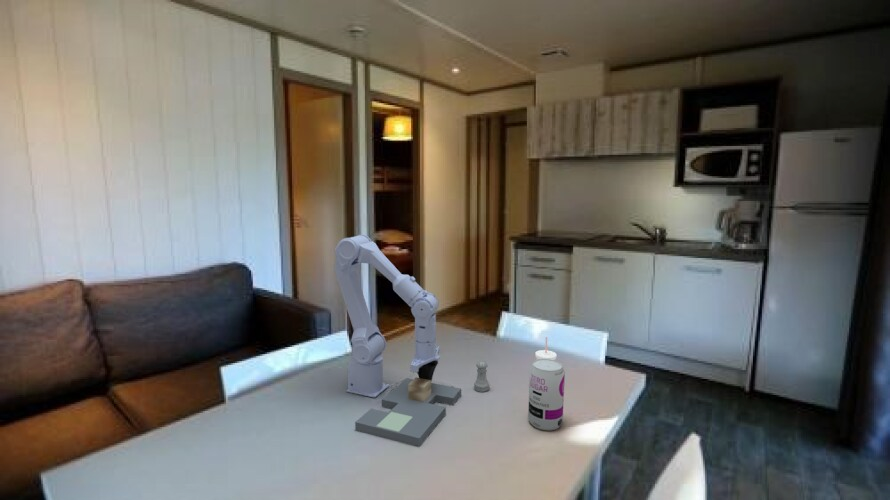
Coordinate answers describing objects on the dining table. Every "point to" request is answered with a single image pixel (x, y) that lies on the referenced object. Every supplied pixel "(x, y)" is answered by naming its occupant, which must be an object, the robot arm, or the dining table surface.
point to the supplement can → (546, 394)
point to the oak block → (419, 389)
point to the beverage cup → (545, 353)
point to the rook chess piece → (481, 377)
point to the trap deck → (408, 414)
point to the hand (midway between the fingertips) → (425, 387)
